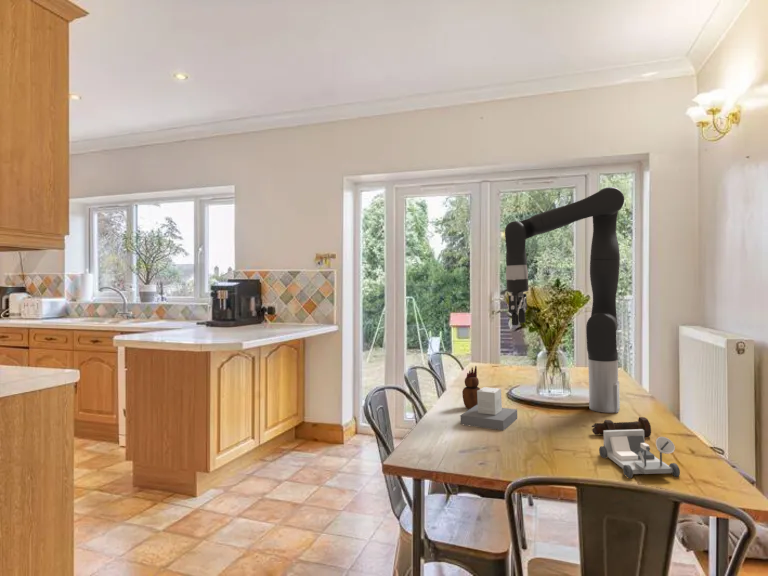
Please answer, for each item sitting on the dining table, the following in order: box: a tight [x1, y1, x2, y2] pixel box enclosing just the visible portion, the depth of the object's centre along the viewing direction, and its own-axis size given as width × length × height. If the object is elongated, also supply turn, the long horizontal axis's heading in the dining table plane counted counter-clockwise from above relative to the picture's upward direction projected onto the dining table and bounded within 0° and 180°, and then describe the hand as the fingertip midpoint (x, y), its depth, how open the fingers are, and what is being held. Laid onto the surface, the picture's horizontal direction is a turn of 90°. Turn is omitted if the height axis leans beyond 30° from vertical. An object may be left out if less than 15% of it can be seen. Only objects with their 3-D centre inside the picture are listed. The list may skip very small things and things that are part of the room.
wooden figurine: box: [461, 365, 481, 410], centre depth 174 cm, size 7×6×15 cm
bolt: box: [591, 416, 652, 438], centre depth 140 cm, size 6×5×15 cm
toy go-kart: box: [598, 429, 681, 479], centre depth 117 cm, size 18×10×12 cm
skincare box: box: [477, 386, 503, 415], centre depth 157 cm, size 6×6×7 cm
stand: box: [459, 405, 518, 431], centre depth 157 cm, size 14×14×3 cm
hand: (518, 323), depth 173 cm, fingers open, 8 cm apart
